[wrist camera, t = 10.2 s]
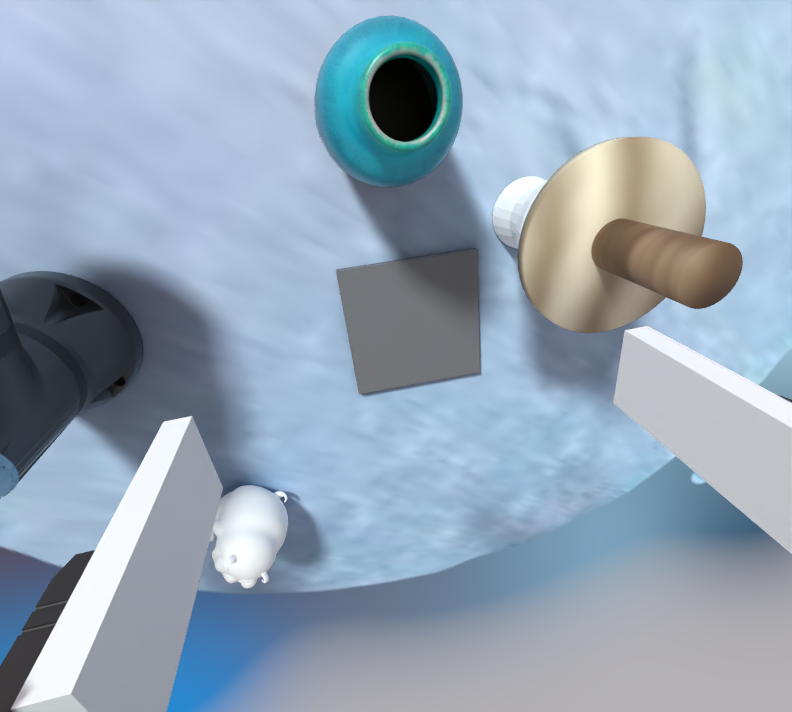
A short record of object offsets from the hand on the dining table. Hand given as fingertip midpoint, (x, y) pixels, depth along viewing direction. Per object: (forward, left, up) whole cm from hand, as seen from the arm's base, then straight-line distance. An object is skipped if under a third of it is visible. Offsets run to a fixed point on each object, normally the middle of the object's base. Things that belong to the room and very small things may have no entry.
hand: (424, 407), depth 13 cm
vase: (+3, +9, -36) cm, 37 cm away
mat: (+5, -13, -36) cm, 38 cm away
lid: (+19, -2, -21) cm, 29 cm away
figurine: (-20, -36, -36) cm, 54 cm away
